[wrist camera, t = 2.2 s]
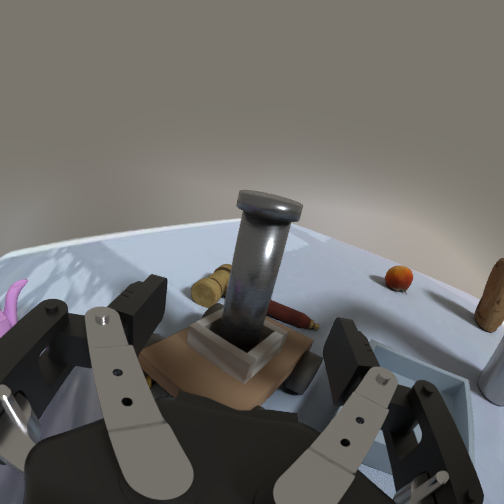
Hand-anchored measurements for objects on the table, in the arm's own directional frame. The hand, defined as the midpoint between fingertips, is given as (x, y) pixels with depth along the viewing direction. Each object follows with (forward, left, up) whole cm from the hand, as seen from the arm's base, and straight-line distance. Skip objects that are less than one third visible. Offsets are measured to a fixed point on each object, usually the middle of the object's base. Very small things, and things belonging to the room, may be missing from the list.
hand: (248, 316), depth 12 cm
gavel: (-27, -12, -17) cm, 34 cm away
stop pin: (-10, -6, -11) cm, 16 cm away
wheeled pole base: (-10, -6, -17) cm, 20 cm away
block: (-69, +40, -17) cm, 82 cm away
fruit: (-68, +8, -17) cm, 70 cm away
